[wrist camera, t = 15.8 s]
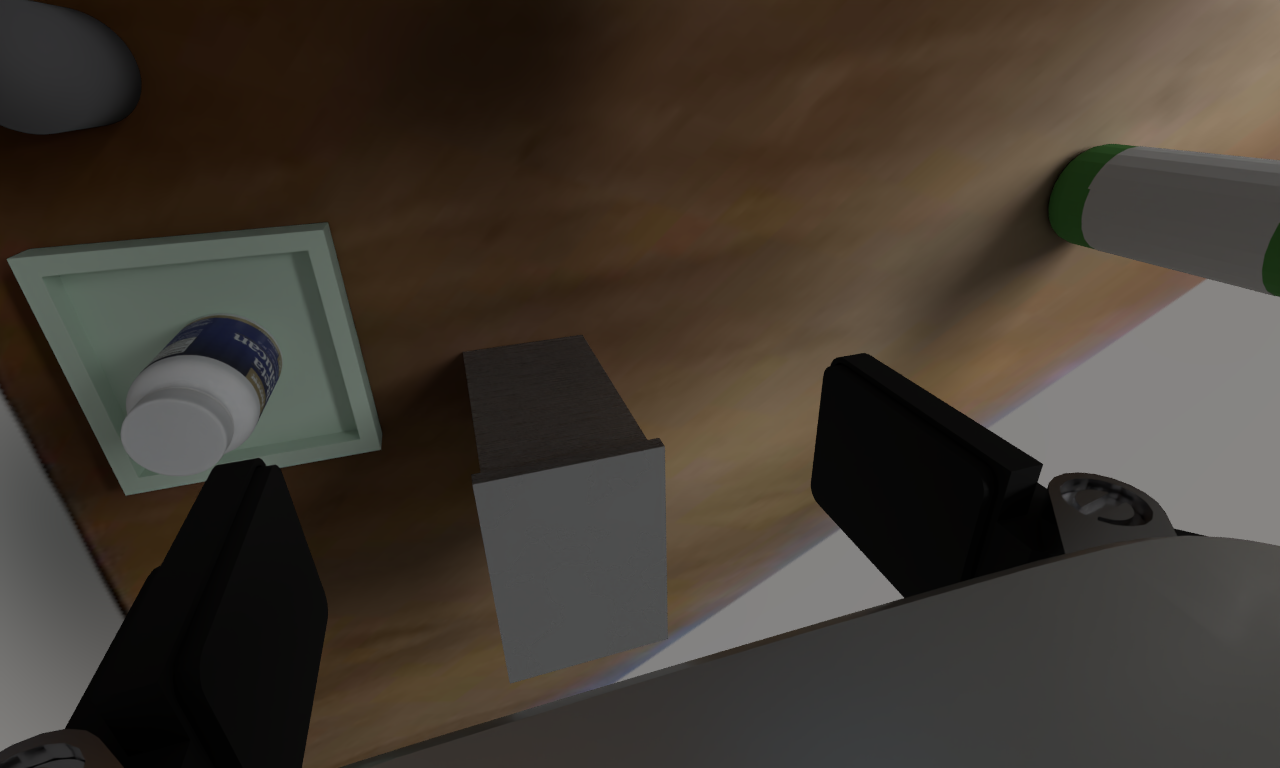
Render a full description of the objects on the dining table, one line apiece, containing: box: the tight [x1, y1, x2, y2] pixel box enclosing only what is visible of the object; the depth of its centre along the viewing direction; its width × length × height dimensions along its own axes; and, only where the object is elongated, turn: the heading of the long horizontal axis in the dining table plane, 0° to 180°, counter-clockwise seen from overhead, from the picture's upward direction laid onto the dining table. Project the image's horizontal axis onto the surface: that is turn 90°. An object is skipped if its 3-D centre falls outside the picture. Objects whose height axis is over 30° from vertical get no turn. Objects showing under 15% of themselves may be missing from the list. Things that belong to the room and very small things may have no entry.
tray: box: [7, 222, 382, 495], centre depth 36 cm, size 14×14×2 cm
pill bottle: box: [120, 313, 283, 476], centre depth 32 cm, size 5×5×10 cm
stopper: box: [0, 0, 141, 134], centre depth 27 cm, size 5×5×5 cm
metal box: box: [463, 335, 668, 683], centre depth 38 cm, size 9×13×16 cm
